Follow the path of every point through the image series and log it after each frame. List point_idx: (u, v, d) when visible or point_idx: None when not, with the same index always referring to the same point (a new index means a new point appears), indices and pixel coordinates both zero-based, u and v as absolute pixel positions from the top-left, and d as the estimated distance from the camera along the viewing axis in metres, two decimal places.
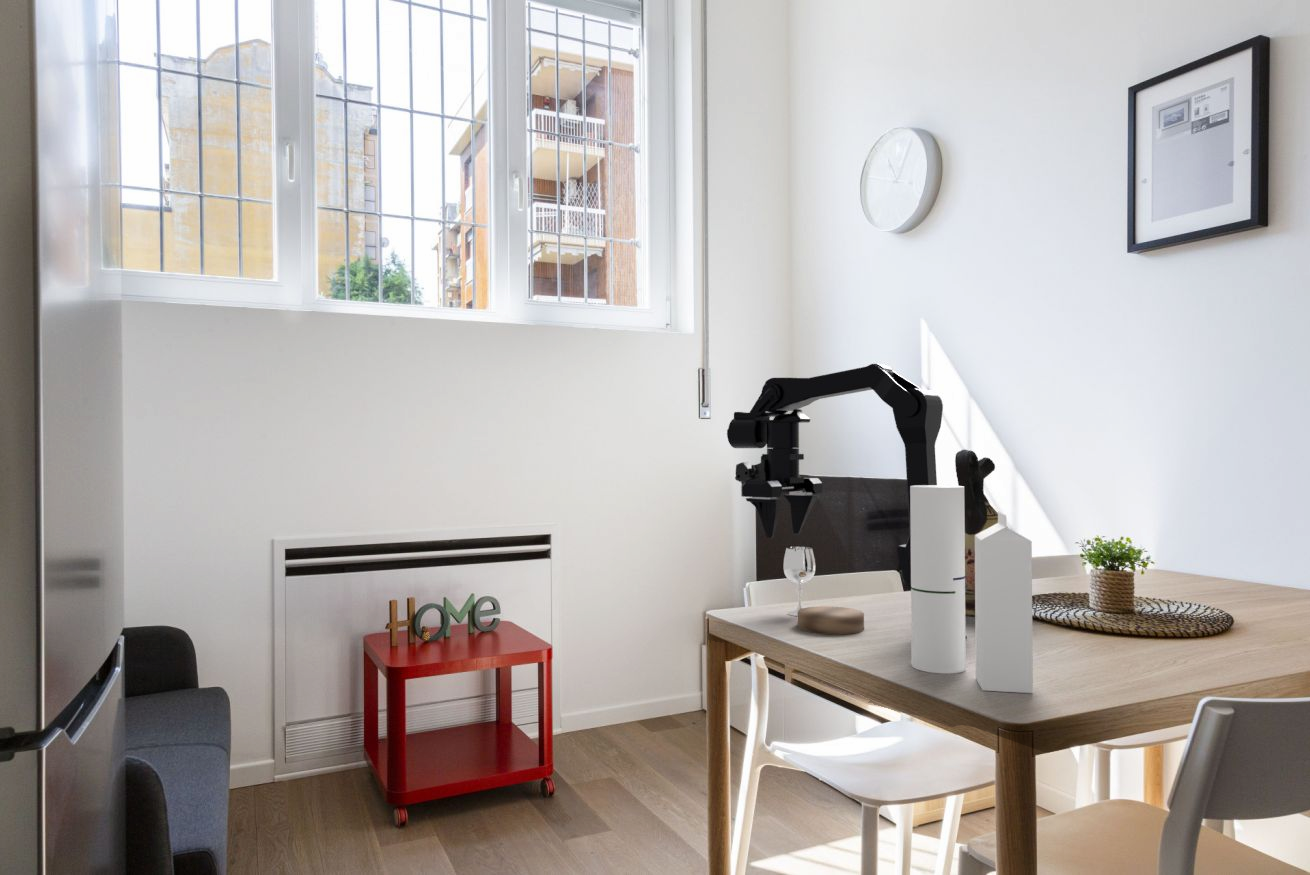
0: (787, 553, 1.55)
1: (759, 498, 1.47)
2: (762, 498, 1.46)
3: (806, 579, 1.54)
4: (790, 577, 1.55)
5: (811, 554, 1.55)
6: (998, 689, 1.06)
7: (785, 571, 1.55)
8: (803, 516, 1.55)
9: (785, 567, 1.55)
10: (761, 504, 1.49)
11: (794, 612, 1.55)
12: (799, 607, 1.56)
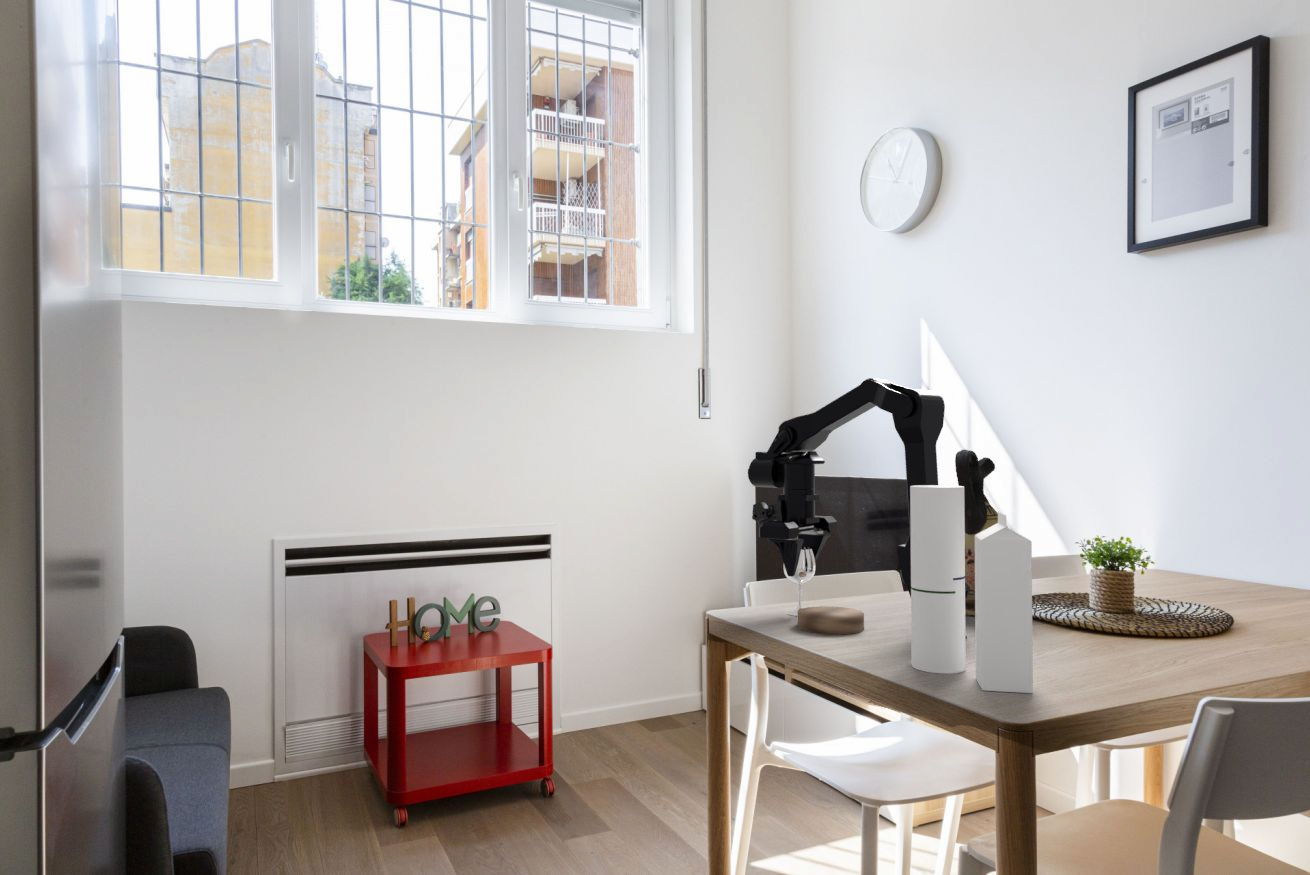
0: None
1: (781, 538, 1.51)
2: (784, 538, 1.51)
3: (806, 579, 1.54)
4: (790, 577, 1.55)
5: (811, 554, 1.55)
6: (998, 689, 1.06)
7: (785, 571, 1.55)
8: (814, 555, 1.58)
9: None
10: (783, 543, 1.53)
11: (794, 612, 1.55)
12: (799, 607, 1.56)
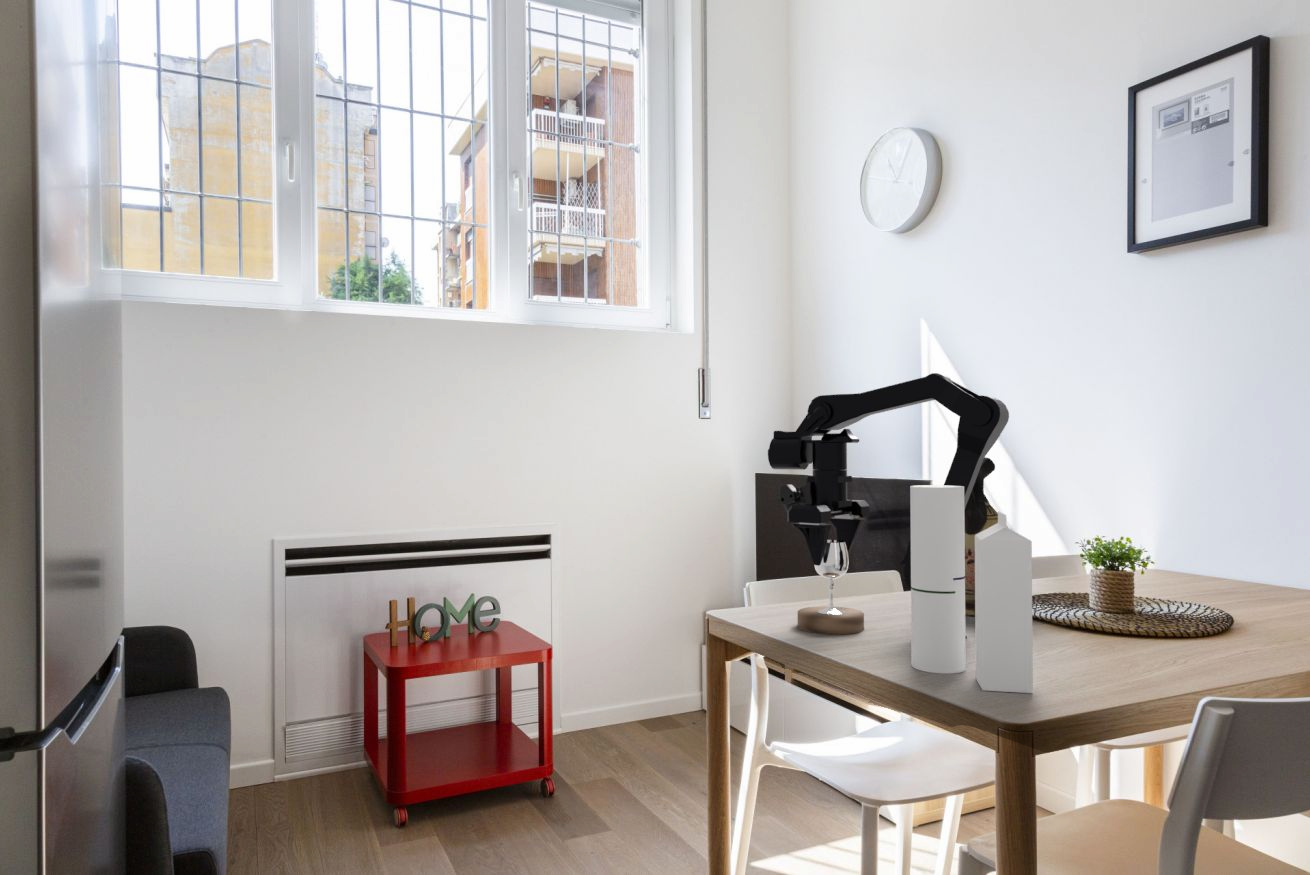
0: None
1: (807, 524, 1.38)
2: (810, 524, 1.38)
3: (839, 575, 1.43)
4: (821, 572, 1.43)
5: (844, 548, 1.43)
6: (998, 689, 1.06)
7: (816, 566, 1.44)
8: (850, 541, 1.47)
9: None
10: (808, 529, 1.40)
11: (825, 610, 1.44)
12: (831, 605, 1.44)
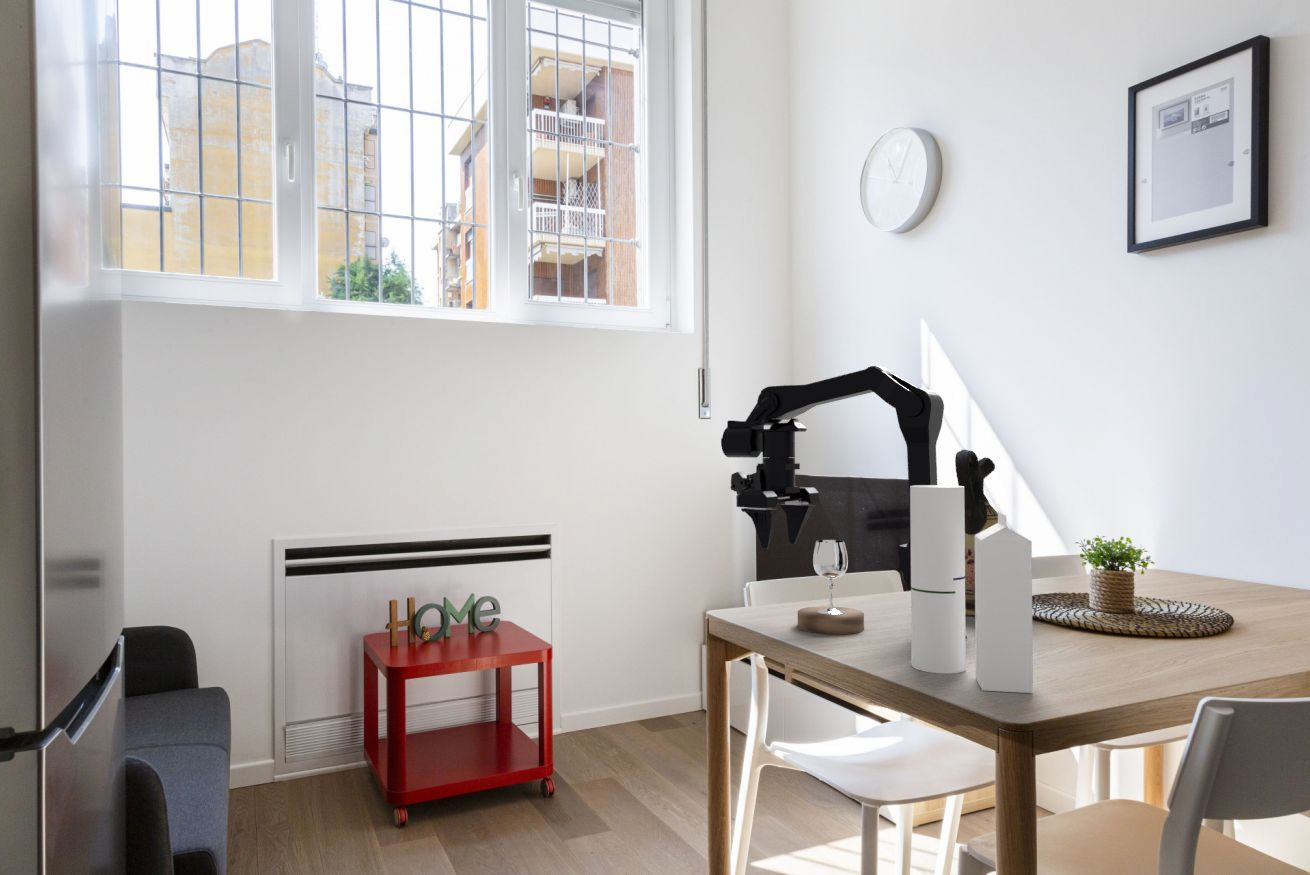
0: (817, 547, 1.44)
1: (754, 508, 1.45)
2: (757, 508, 1.44)
3: (838, 575, 1.43)
4: (821, 573, 1.43)
5: (843, 548, 1.43)
6: (998, 689, 1.06)
7: (815, 566, 1.44)
8: (799, 526, 1.54)
9: (815, 562, 1.44)
10: (756, 514, 1.47)
11: (825, 610, 1.44)
12: (830, 605, 1.44)
